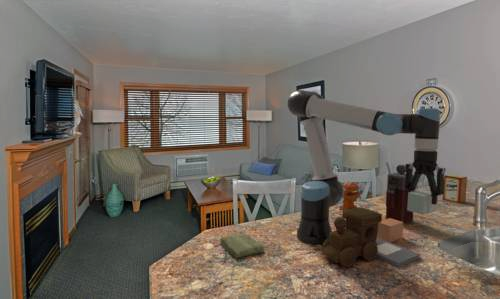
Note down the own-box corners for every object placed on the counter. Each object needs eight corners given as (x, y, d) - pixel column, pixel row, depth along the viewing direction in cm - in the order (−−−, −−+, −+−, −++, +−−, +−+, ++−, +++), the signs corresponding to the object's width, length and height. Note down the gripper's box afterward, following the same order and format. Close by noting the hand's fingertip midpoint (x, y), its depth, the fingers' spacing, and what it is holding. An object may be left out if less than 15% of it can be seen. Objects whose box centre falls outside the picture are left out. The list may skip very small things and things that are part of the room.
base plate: (398, 267, 97) (398, 263, 97) (355, 247, 113) (355, 243, 113) (419, 258, 104) (420, 253, 104) (376, 240, 119) (376, 236, 119)
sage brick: (423, 214, 105) (424, 196, 104) (407, 210, 110) (408, 192, 109) (436, 210, 109) (437, 193, 109) (420, 206, 115) (421, 189, 114)
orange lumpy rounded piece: (356, 219, 145) (357, 184, 144) (335, 215, 152) (336, 181, 150) (363, 213, 154) (364, 180, 152) (342, 209, 161) (343, 178, 159)
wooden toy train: (358, 246, 114) (359, 205, 112) (382, 259, 104) (384, 214, 102) (318, 257, 105) (319, 213, 104) (340, 271, 95) (341, 223, 93)
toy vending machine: (382, 219, 144) (384, 164, 142) (396, 215, 150) (398, 163, 147) (399, 225, 137) (401, 167, 134) (413, 221, 142) (415, 165, 139)
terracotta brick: (389, 242, 117) (390, 226, 117) (376, 237, 123) (377, 221, 122) (402, 238, 122) (403, 222, 121) (389, 233, 127) (390, 218, 126)
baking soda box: (442, 199, 179) (444, 174, 178) (448, 198, 182) (450, 173, 181) (459, 203, 171) (461, 177, 170) (465, 202, 174) (467, 176, 173)
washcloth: (246, 237, 125) (246, 230, 125) (266, 253, 109) (266, 245, 109) (218, 242, 119) (217, 235, 119) (234, 261, 103) (234, 252, 103)
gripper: (459, 151, 101) (454, 215, 103) (406, 147, 117) (403, 202, 120) (448, 152, 97) (443, 218, 100) (395, 148, 114) (392, 204, 116)
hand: (421, 209), depth 110 cm, fingers closed on sage brick, 6 cm apart
